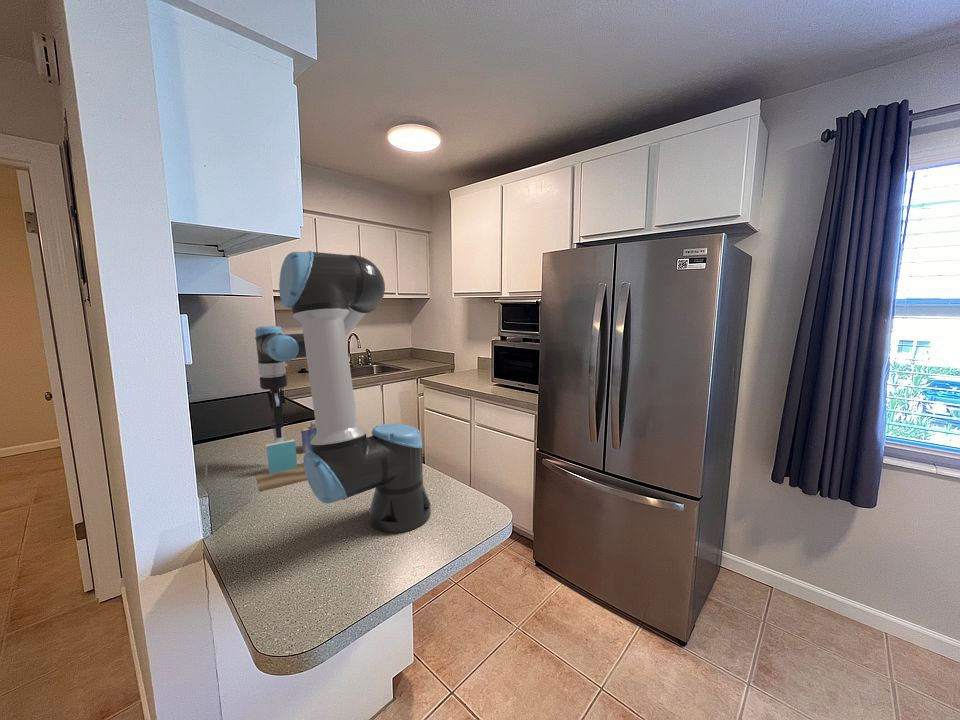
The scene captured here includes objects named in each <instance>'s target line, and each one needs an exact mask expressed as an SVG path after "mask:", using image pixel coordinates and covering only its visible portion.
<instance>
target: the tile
mask: <svg viewBox="0 0 960 720" xmlns="http://www.w3.org/2000/svg"><path fill="white" fill-rule="evenodd" d="M265 447H266V457H267V467H268V469H267V471H269V474H272V473H276V472H281V471H285V470H290V469H294V468H297V464H298V460H297V458H298V457H297V447H296V440H295V439H290V440H284V441H283V442H277V443H274V442H273V443H268V444H265Z"/></svg>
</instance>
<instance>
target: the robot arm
mask: <svg viewBox="0 0 960 720" xmlns="http://www.w3.org/2000/svg"><path fill="white" fill-rule="evenodd" d="M278 283H279V285H278V288H279V290H278V291H279V299H280V301H281V305H283V307H286V308H288V309H290V308H291V311H292V317H293V318H294V319H295V320H297V321H298V322H300V324H301V326H302V333H284V332H283V328H282V327H281V326H280V325H279V326H278V325H270V326H269V325H266V326H264V325H263V326H258V327H256V328H255V330H254V331H255V337H254V339H255V343H256V344H255V345H256V354H257V366H258V367H257V368H258V369H257V370H258V375H259V376H260V377H259V385H260V389H262V390H269V392H267V394H266V395H267V396H266V397H267V398H268V406H269V408H270V416H271V417H270V418H271V423H272V426H271V427H270V428H271V430H272V432H273V443H277V442H283V441H285V437H284V426H285V422H284V419H283V417H284V416H283V415H284V414H283V397H284V396H283V393H282V391H280V390H281V388H282V389H283V388H286V387H287V386H288V378H287V375H286V373H287V372H286V371H287V370H286V369H287V368H286V367H288V363H286V362H290V361H293V360H298V359H306V362H307V370H308V377H309V384H310V386H309V387H310V391H311V392H310V393H311V397H312V399H311V400H312V406H313V407H312V408H313V413H314V420H315V422H314V423H315V424H316V429H317V434H316V435H315V437H314V438H313V439H312V441H311V449H312V451H309V452H308V453H304V455H303V458H302V459H303V462H302V463H303V465H304V470H305V474H306V477H307V480H306V481H307V483H308V484H309V485H308V486H309V487H310V489H311V490H312V492H313V495H315V497H316V499H318V500H319V502H321V503H323V504H332V503H335V502H339V501H345V500H347V499H348V498H350V497H353V496H356V495H359V494H361V493H364V492H367V491H369V490H372V489H374V493H373V496H372V500H371V503H370V508H369V512H368V515H369V516H368V517H369V524H370V525H371V526H372V527H373V528H374V529H375V530H378V531H379V532H380V531H381V532H383V533H391V534H393V533H394V534H395V533H397V534H398V533H404V532H405V533H406V532H410V531H413V530H415V529H417V528H419V527H421V526H423V525H424V524H425V523H426V522H427V521H429V519H430V517H431V514H432V508H431V507H432V505H431V502H430V499H429V496H428V494H427V491H426V489H425V486H424V477H423V475H424V474H423V472H424V469H423V446H424V445H423V441H422V434H421V432H420V429H418V428H416V427H414V426H412V425H408V424H403V423H383V424H378V425H376V426H374V427H373V428H372V429H371V436H367V431H366V430H364V429H363V428H362V427H360V425H359V423H358V417H357V411H356V410H357V409H356V401H355V395H354V388H353V380H352V373H351V366H350V358H349V351H348V344H347V336H348V335H349V334H350V333H351V331H352V330H354V328H355V327H356V326H357V324H358V323H359V322H360V321H361V319H363V318H364V316H366V314H370V313H372V312H373V311H375V310H376V309H377V308H378V307H379V306H380V304H381V303H382V301H383V300H384V299H383V298H384V297H385V292H386V283H385V279H384V276H383V275H382V273H381V270H380V269H379V268H378V267H377V266H376V264H375V263H374V262H373V261H371V260H369V259H367V258H366V257H364V256H360V255H357V254H356V255H354V254H340V253H330V252H329V253H328V252H319V251H318V252H317V251H312V250H308V251H292V252H289V253H288V254H287V255H286V256H285V258H284V259H283V262H282V264H281V268H280V273H279V282H278Z"/></svg>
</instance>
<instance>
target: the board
mask: <svg viewBox="0 0 960 720" xmlns="http://www.w3.org/2000/svg"><path fill="white" fill-rule="evenodd" d="M255 477H256V482H257V483H256V484H257V487H258V491H259V493H260V492H266V491H269V490H273V489H278V488H281V487H285V486H289V485H293V484H297V483H302V482H306V481H308V480H307V477H306V474H305V470H304V465H303V462H302V463H301V462H300V463H297V468H294V469H290V470H285V471H281V472H276V473H272V474H269V470H266V471H259V472H256V473H255Z"/></svg>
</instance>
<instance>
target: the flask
mask: <svg viewBox="0 0 960 720" xmlns="http://www.w3.org/2000/svg"><path fill="white" fill-rule="evenodd" d="M300 433H301V444H302V453H303V454H306V453H308V452H309V451H312V449H311V441H312V439H313V438H314V437H315V435H316V434H317V429H316V423H315V422H314V421H313V420H312V421H311V422H310V426H308V427H305V428H303V429H301V432H300Z"/></svg>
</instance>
